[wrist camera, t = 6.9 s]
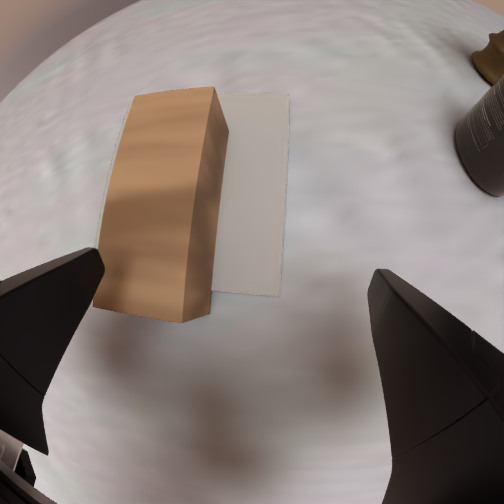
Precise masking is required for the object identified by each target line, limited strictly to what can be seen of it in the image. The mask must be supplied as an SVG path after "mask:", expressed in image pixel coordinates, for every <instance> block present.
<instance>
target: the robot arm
mask: <svg viewBox="0 0 504 504" xmlns="http://www.w3.org/2000/svg"><path fill="white" fill-rule="evenodd" d="M104 274H105V265H104V263H103V260H102V258H101V255H100V253H99V251H98V249H96V248H90V247H88V248H85V249H82V250H79V251H76V252H73V253H71V254H68V255H65V256H63V257H60V258H57V259H55V260H52V261H49V262H47V263H44V264H42V265H39V266H36V267H34V268H31V269H29V270H26V271H24V272H21V273H19V274H17V275H14V276H12V277H9V278H7V279H5V280H3V281H0V504H57V503H55V502H54V501H52V500H50V499H49V498H48V497H46V496H45V495H44V494H42V493H41V492H39V491H38V490H37V489H35V488H34V483H35V480H36V476H35V473H34V470H33V467H32V464H31V461H30V458H29V455H28V452H27V451H26V450H25V449H23V448H22V447H23V444H26V445H28V446H29V447H31V448H33V449H35V450H37V451H39V452H41V453H43V454H45V455H48V453H49V450H48V445H47V440H46V434H45V428H44V422H43V415H42V403H43V399H44V396H45V394H46V392H47V390H48V387H49V385H50V383H51V380H52V378H53V376H54V374H55V372H56V369H57V367H58V365H59V363H60V361H61V359H62V357H63V355H64V353H65V351H66V349H67V347H68V345H69V343H70V341H71V339H72V337H73V335H74V333H75V331H76V329H77V327H78V326H79V324H80V322H81V320H82V318H83V316H84V315H85V313H86V311H87V309H88V307H89V305H90V304H91V301H92V299H93V297H94V295H95V293H96V291H97V288H98V286H99V284H100V282H101V280H102V278H103V276H104ZM368 304H369V312H370V321H371V330H372V337H373V342H374V347H375V351H376V356H377V361H378V366H379V371H380V376H381V382H382V387H383V393H384V399H385V406H386V412H387V419H388V427H389V435H390V444H391V453H392V473H391V477H390V480H389V484H388V487H387V490H386V493H385V496H384V499H383V502H382V504H504V353H502V352H501V351H500V350H498V349H497V348H496V347H494V346H493V345H492V344H490V343H489V342H488V341H487V340H485V339H484V338H483V337H481V336H480V335H479V334H478V333H476V332H475V331H472V330H471V329H470V328H469V327H468V326H467V325H465V324H464V323H463V322H461V321H460V320H459V319H457V318H456V317H455V316H453V315H452V314H451V313H449V312H448V311H447V310H445V309H444V308H443V307H441V306H440V305H439V304H437V303H436V302H434V301H433V300H432V299H430V298H429V297H427V296H426V295H425V294H423V293H422V292H420V291H419V290H418V289H416V288H415V287H413V286H412V285H410V284H409V283H408V282H406V281H405V280H403V279H402V278H400V277H399V276H397V275H396V274H394V273H393V272H391V271H390V270H388V269H376V270H375V272H374V274H373V277H372V280H371V283H370V285H369V288H368Z"/></svg>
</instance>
